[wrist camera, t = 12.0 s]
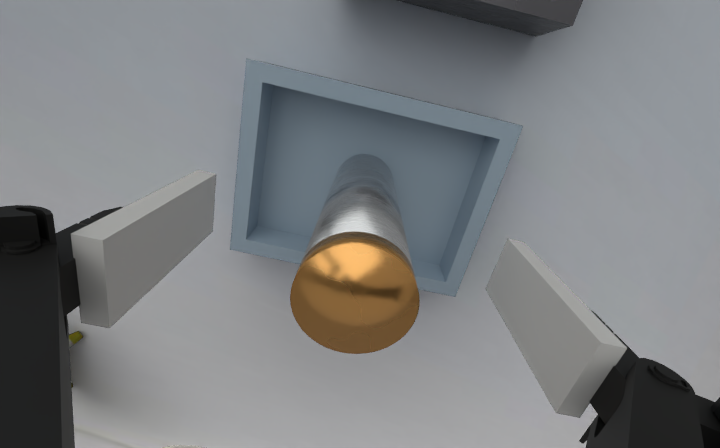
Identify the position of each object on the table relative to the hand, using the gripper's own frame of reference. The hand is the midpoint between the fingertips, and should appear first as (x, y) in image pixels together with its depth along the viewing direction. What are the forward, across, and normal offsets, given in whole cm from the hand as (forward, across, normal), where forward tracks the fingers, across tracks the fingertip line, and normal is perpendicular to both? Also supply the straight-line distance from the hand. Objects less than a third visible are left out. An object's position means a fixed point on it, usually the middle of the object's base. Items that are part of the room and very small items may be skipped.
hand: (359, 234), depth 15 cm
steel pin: (+9, 0, 0) cm, 9 cm away
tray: (+10, 0, 0) cm, 10 cm away
